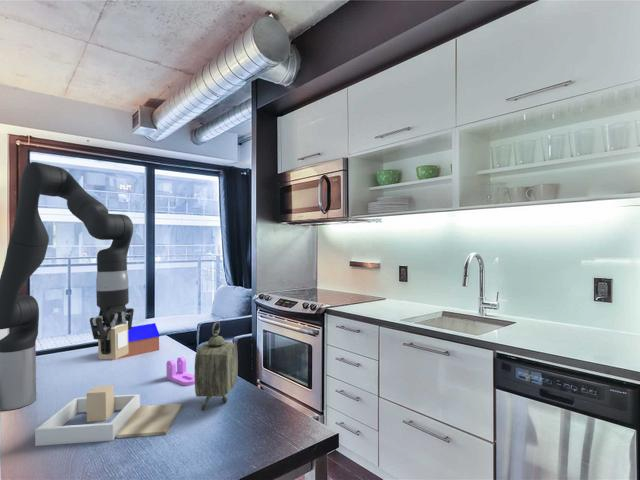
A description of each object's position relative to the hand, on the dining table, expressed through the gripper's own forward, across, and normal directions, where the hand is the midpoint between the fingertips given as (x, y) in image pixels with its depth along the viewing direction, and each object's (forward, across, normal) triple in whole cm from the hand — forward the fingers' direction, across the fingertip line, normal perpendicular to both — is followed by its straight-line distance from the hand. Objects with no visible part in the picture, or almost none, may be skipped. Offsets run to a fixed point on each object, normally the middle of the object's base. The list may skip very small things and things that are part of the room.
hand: (113, 350), depth 98 cm
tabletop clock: (+21, +17, -22) cm, 35 cm away
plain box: (+21, +4, +8) cm, 23 cm away
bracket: (+21, +33, -2) cm, 39 cm away
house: (+21, +60, +39) cm, 74 cm away
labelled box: (+1, 0, 0) cm, 1 cm away
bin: (+21, 0, +7) cm, 22 cm away
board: (+21, +4, -8) cm, 23 cm away
